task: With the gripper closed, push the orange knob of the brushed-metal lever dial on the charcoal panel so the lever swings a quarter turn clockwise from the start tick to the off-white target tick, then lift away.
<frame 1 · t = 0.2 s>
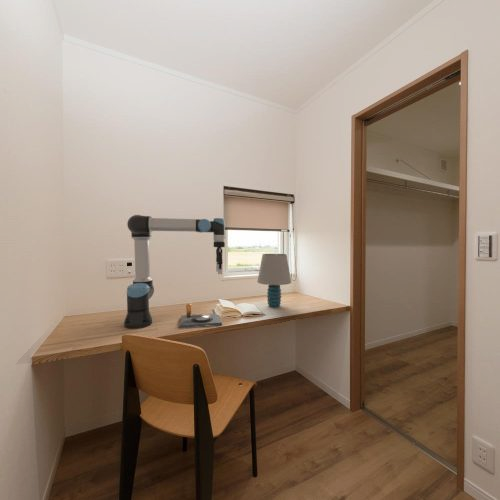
hand: (219, 272, 169), 28 cm above the table, fingers open, 13 cm apart
lamp: (274, 306, 189), on the table
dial: (198, 311, 152), point 7 cm above the table, hinge at 0.0°
panel: (200, 321, 153), on the table
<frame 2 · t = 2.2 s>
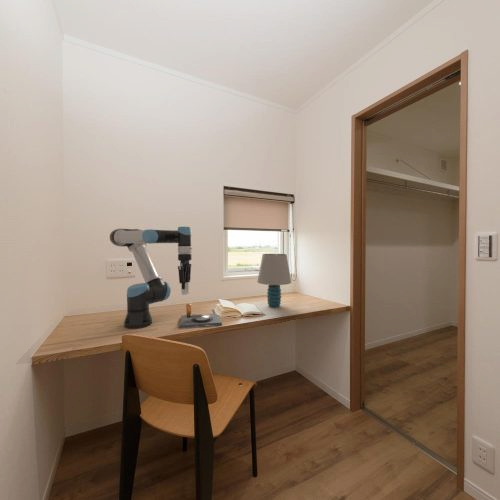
hand: (185, 293, 145), 18 cm above the table, fingers open, 2 cm apart
nothing on the table moved.
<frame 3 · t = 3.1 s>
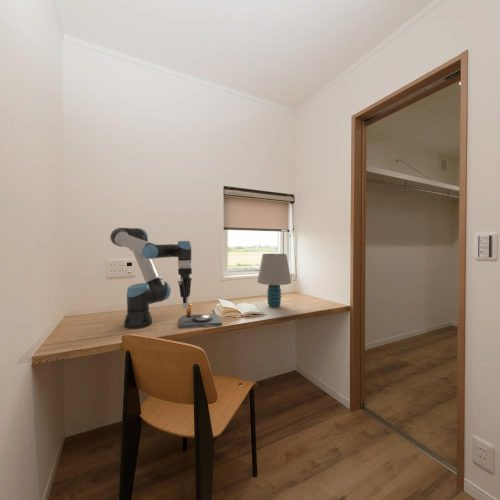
hand: (185, 308, 145), 10 cm above the table, fingers closed
nothing on the table moved.
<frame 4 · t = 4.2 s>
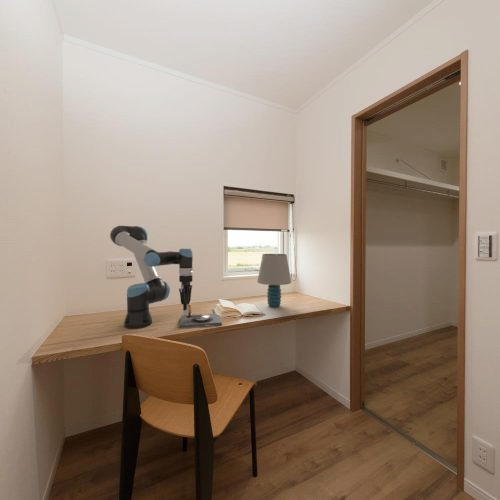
hand: (185, 315, 147), 6 cm above the table, fingers closed
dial: (198, 311, 152), point 7 cm above the table, hinge at -0.9°, touching gripper
everything else where it was.
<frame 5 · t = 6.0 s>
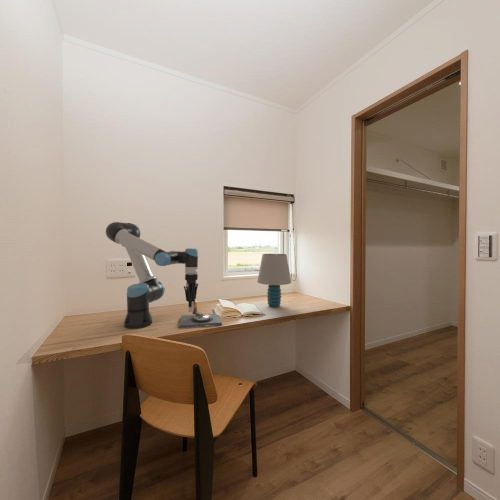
hand: (191, 311, 154), 6 cm above the table, fingers closed
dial: (200, 310, 154), point 7 cm above the table, hinge at -55.9°, touching gripper
everything else where it was.
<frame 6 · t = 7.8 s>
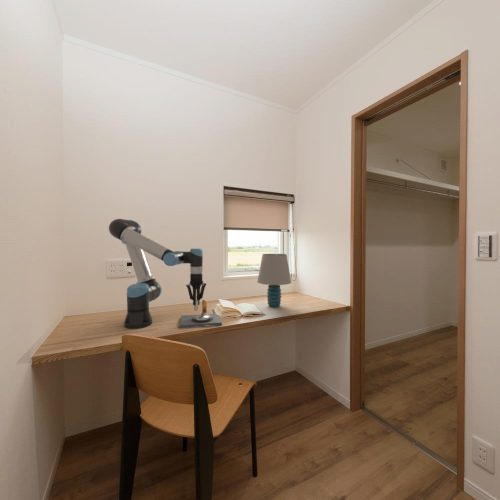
hand: (196, 310, 158), 5 cm above the table, fingers closed
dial: (202, 310, 154), point 7 cm above the table, hinge at -100.8°
everything else where it was.
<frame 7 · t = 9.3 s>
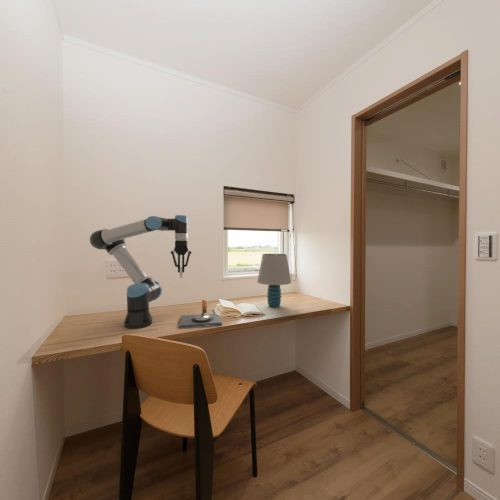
hand: (181, 277, 157), 26 cm above the table, fingers closed
nothing on the table moved.
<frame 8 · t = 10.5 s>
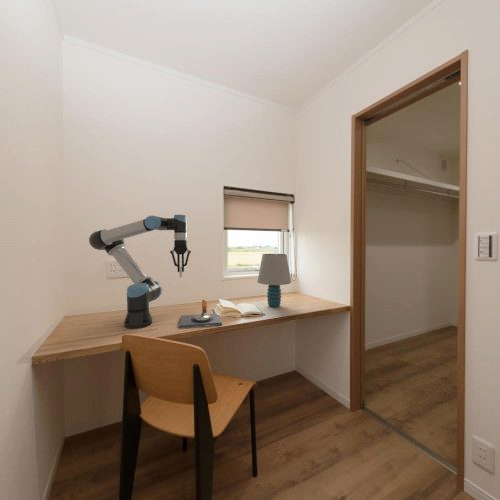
hand: (180, 277, 157), 26 cm above the table, fingers closed
nothing on the table moved.
at the end: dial at -101° (first picture: +0°) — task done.
